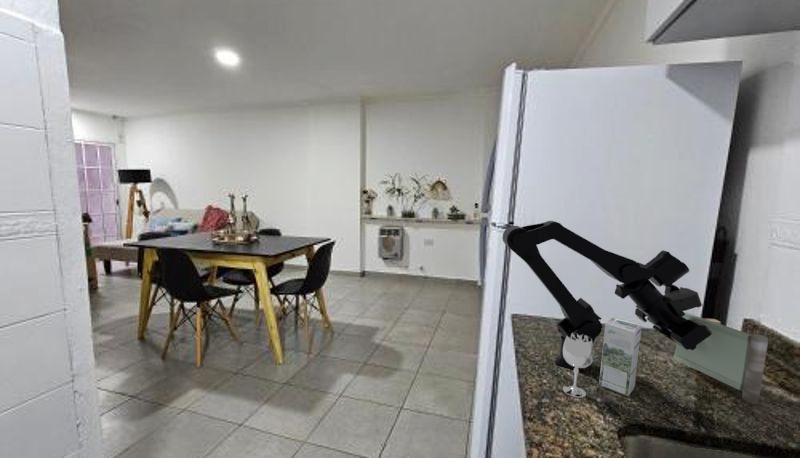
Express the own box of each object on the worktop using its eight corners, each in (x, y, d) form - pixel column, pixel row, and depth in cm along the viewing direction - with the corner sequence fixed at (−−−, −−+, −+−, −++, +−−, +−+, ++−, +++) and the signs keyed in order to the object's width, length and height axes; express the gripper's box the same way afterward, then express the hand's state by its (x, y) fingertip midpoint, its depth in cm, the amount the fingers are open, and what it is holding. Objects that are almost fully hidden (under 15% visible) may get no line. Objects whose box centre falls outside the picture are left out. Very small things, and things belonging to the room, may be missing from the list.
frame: (771, 405, 71) (782, 340, 70) (748, 403, 72) (758, 338, 70) (708, 364, 88) (715, 310, 86) (689, 362, 89) (696, 309, 87)
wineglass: (589, 402, 70) (595, 345, 69) (558, 393, 73) (563, 339, 72) (589, 388, 75) (595, 335, 74) (560, 381, 78) (565, 329, 77)
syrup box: (635, 387, 76) (642, 323, 75) (628, 398, 72) (635, 331, 71) (606, 377, 80) (612, 316, 79) (597, 386, 76) (604, 322, 75)
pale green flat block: (745, 389, 74) (753, 335, 73) (739, 390, 74) (747, 335, 72) (678, 358, 88) (684, 312, 86) (673, 358, 87) (679, 312, 86)
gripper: (708, 288, 72) (758, 344, 72) (653, 268, 90) (693, 312, 91) (662, 322, 74) (711, 376, 74) (617, 295, 92) (656, 338, 92)
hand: (692, 347), depth 83 cm, fingers closed
